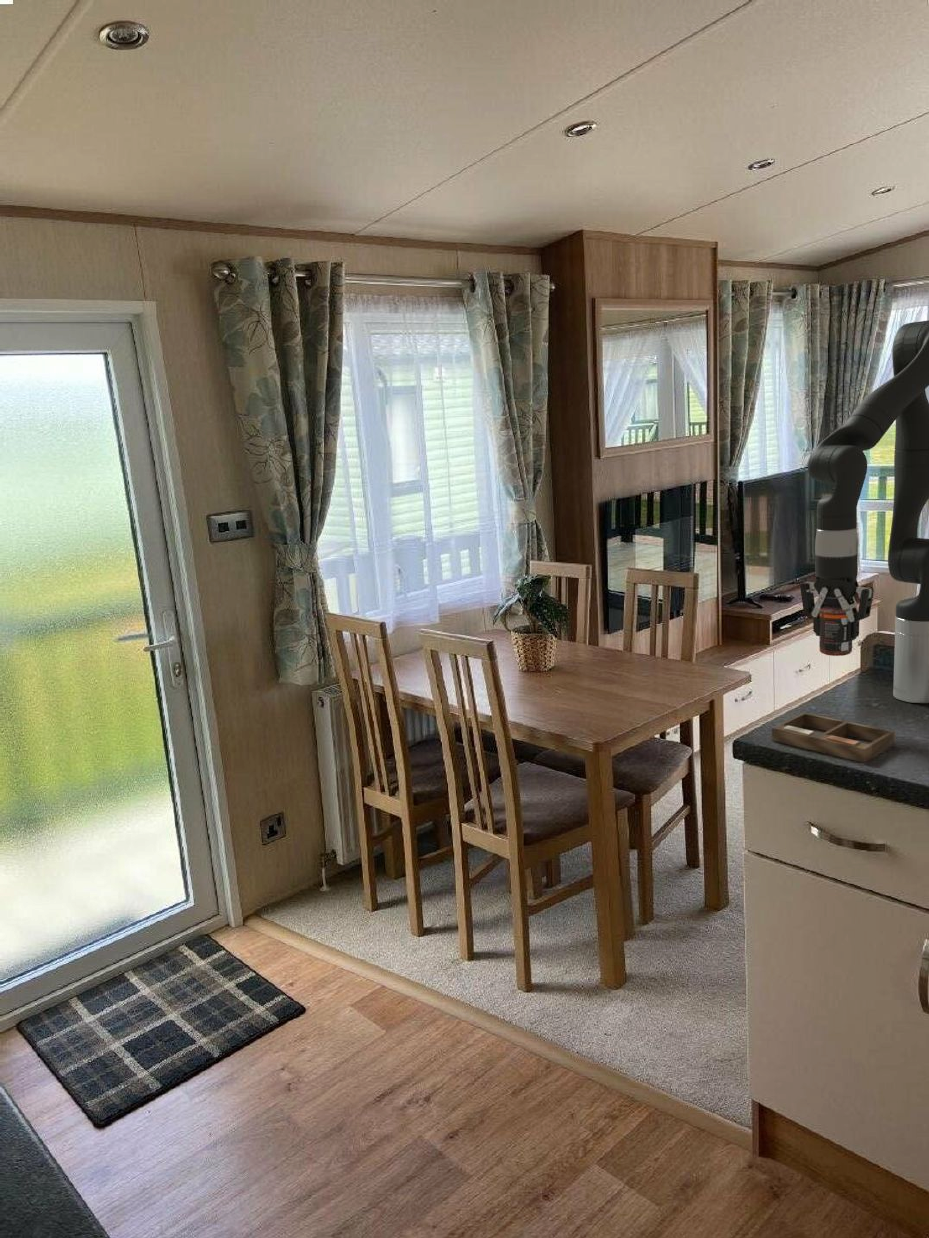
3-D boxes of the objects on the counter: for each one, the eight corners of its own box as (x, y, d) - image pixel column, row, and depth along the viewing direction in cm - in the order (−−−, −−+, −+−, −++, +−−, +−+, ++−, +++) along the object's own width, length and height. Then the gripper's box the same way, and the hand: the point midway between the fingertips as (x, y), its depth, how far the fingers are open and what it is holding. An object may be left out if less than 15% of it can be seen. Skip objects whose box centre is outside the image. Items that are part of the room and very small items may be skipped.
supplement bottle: (855, 656, 181) (855, 598, 178) (822, 657, 182) (822, 599, 179) (849, 648, 186) (849, 592, 184) (817, 649, 188) (817, 593, 185)
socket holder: (894, 744, 173) (894, 729, 172) (864, 762, 166) (864, 747, 165) (803, 724, 187) (803, 710, 186) (771, 740, 179) (771, 726, 179)
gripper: (883, 551, 177) (881, 638, 180) (811, 546, 187) (811, 628, 191) (863, 557, 172) (862, 647, 176) (791, 552, 183) (791, 636, 186)
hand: (835, 637), depth 183 cm, fingers closed on supplement bottle, 6 cm apart
